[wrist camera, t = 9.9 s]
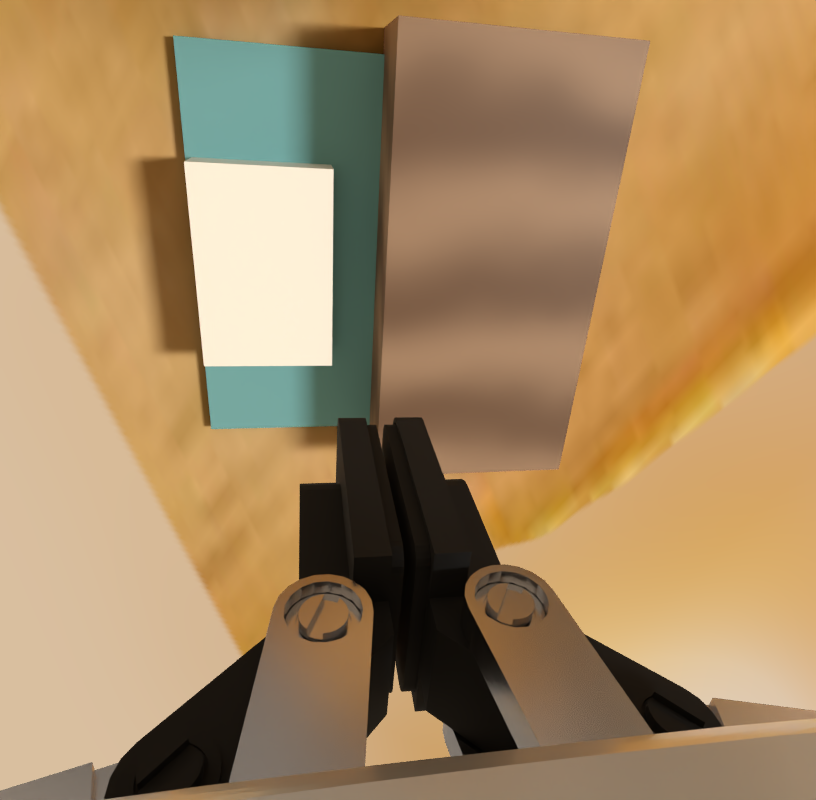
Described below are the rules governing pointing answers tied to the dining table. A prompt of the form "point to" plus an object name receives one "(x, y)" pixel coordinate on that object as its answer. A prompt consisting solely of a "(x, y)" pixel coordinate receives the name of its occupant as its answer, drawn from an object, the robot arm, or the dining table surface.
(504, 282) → the brown wooden block
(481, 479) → the dining table surface
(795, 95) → the dining table surface
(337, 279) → the mat
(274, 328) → the cream white panel
